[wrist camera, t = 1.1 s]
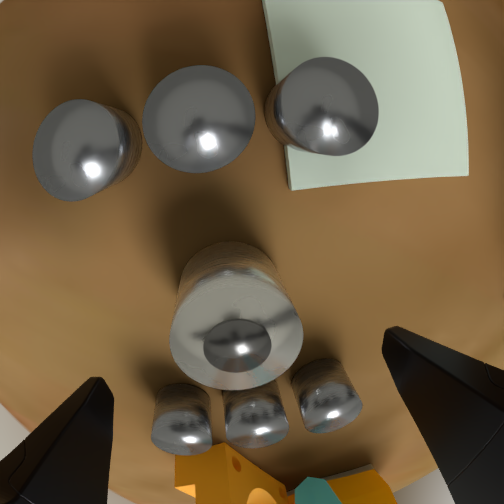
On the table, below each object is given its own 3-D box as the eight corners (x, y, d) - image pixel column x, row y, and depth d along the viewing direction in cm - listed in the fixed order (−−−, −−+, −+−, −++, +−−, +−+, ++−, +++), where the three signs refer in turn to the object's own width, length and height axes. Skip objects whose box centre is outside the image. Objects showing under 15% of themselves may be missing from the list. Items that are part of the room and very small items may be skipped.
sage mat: (437, 4, 8) (442, 2, 8) (462, 174, 12) (468, 175, 12) (256, -28, 8) (258, -33, 7) (288, 188, 12) (291, 190, 11)
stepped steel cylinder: (273, 233, 12) (301, 276, 8) (282, 319, 14) (305, 379, 10) (169, 250, 12) (151, 301, 8) (192, 334, 14) (188, 399, 10)
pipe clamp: (175, 453, 18) (174, 524, 12) (224, 440, 17) (233, 518, 11) (245, 494, 22) (253, 544, 16) (284, 484, 22) (297, 535, 16)
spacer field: (336, 75, 10) (371, 60, 7) (341, 388, 16) (358, 423, 14) (66, 121, 9) (27, 119, 6) (166, 418, 16) (163, 456, 13)
